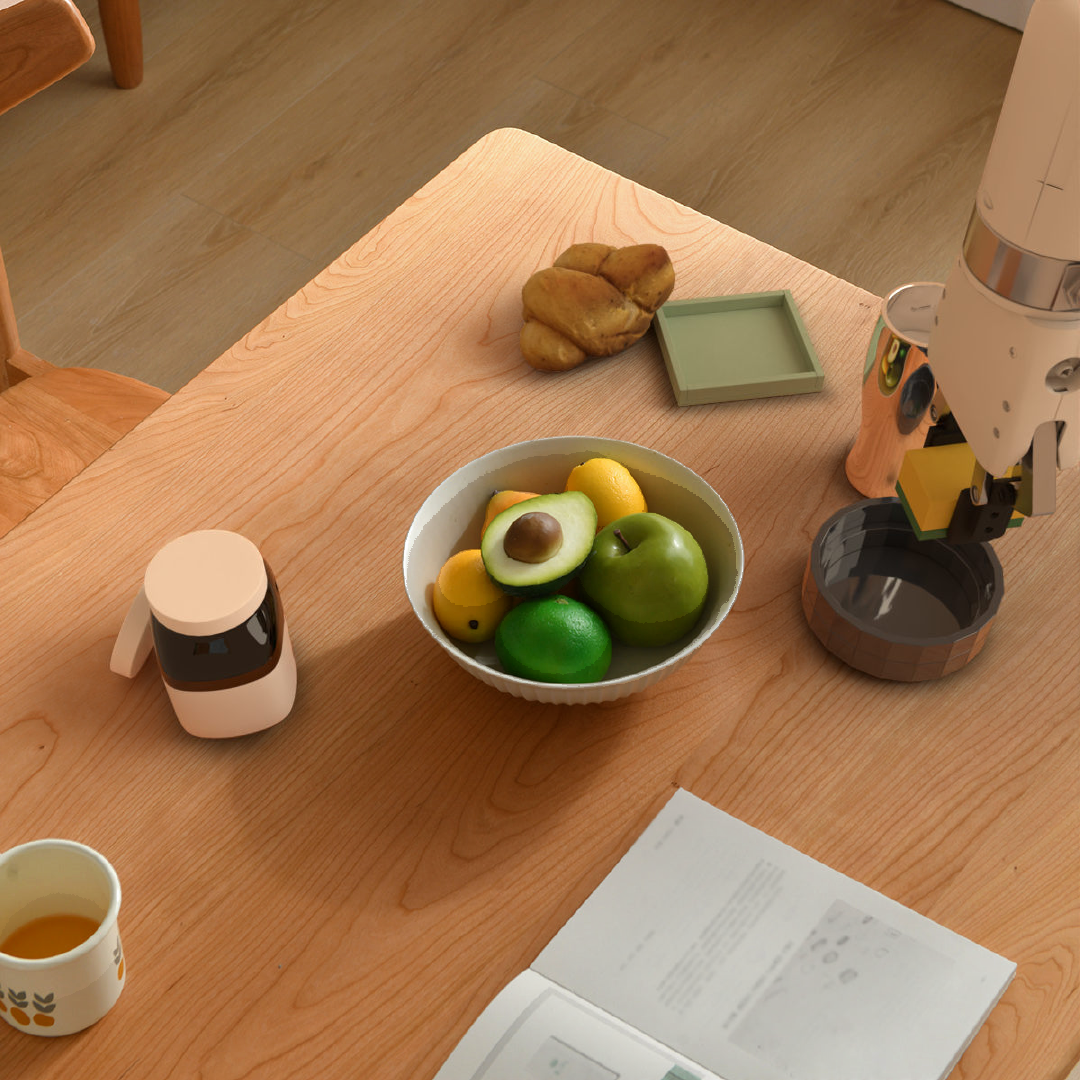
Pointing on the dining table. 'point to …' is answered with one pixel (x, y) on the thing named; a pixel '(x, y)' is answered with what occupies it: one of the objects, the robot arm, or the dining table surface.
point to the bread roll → (592, 303)
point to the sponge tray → (736, 348)
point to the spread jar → (213, 635)
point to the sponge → (938, 487)
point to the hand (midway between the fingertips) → (958, 503)
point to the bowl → (898, 593)
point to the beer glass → (895, 389)
